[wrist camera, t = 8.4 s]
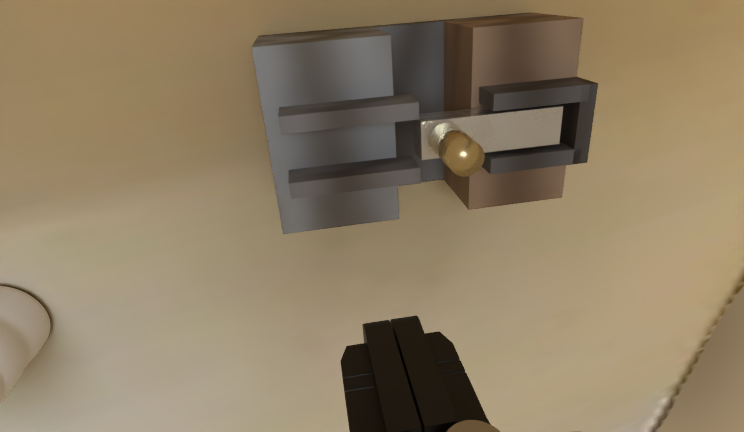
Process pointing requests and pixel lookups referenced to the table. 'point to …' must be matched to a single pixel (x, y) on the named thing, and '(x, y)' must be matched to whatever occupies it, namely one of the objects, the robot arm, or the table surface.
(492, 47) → the door and jamb
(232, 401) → the table surface
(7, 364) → the water bottle
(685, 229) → the table surface
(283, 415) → the table surface
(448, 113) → the bolt
